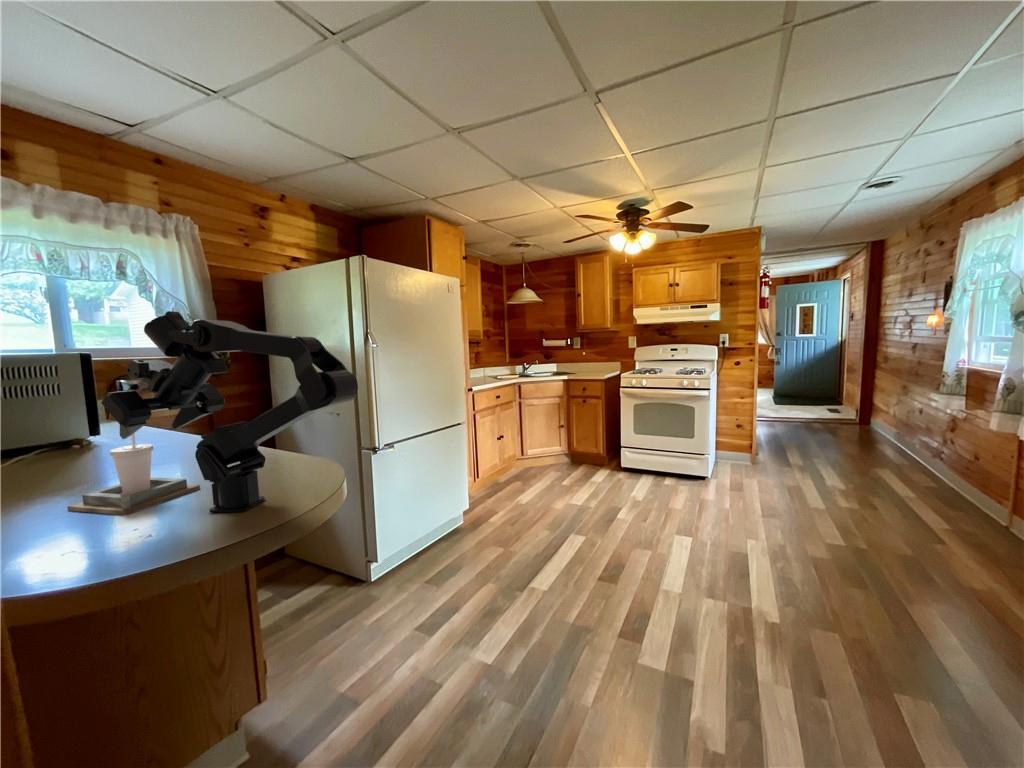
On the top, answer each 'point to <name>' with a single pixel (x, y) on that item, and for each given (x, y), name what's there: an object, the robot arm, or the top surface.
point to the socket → (132, 497)
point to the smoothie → (133, 466)
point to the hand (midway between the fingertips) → (149, 432)
